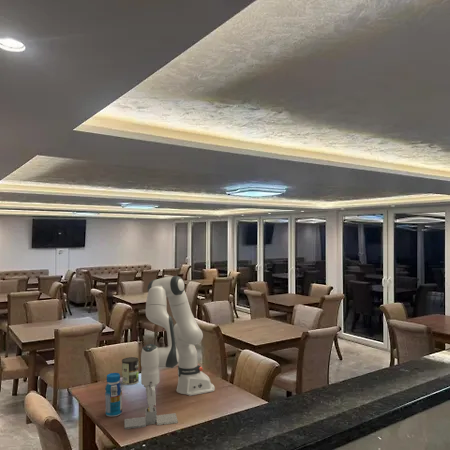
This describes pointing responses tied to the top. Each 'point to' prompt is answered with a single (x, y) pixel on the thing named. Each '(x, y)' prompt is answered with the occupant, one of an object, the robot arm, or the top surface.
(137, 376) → the coffee can
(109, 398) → the beverage bottle
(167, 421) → the hinge leaves
